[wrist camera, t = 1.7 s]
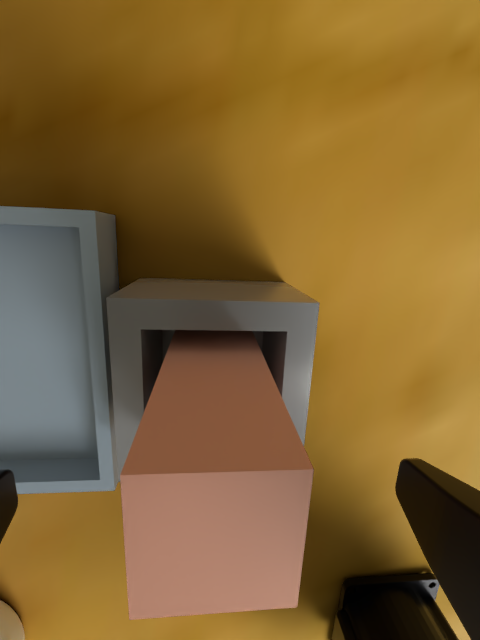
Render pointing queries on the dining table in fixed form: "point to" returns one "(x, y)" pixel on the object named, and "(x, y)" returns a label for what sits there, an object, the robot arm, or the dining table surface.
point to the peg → (214, 485)
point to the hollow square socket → (206, 314)
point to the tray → (57, 349)
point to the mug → (10, 624)
